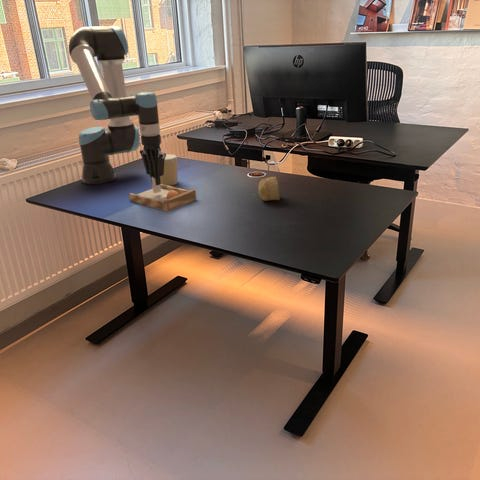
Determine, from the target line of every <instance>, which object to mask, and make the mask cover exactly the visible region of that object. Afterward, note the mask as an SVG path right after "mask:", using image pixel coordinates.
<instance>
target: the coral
mask: <svg viewBox="0 0 480 480" xmlns="http://www.w3.org/2000/svg"><path fill="white" fill-rule="evenodd" d="M257 188H258V195H259V196H260V198H261V199H262V200H263V201H264V202H265V201H266V202H267V201H268V202H269V201H280V200H281V199H280V191H279V188H280V187H279V182H278V180H277V176H271V177H270V176H269V177H266V178H263V179H261V180H260V182H259V183H258V186H257Z"/></svg>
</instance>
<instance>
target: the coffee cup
mask: <svg viewBox="0 0 480 480" xmlns="http://www.w3.org/2000/svg"><path fill="white" fill-rule="evenodd" d="M160 182H161V184H164V185H168V186H175V185H176V184H178V157H177V155H176V154H172V153H171V154H170V153H166V157H165V162H164V175H163V176H160Z"/></svg>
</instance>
